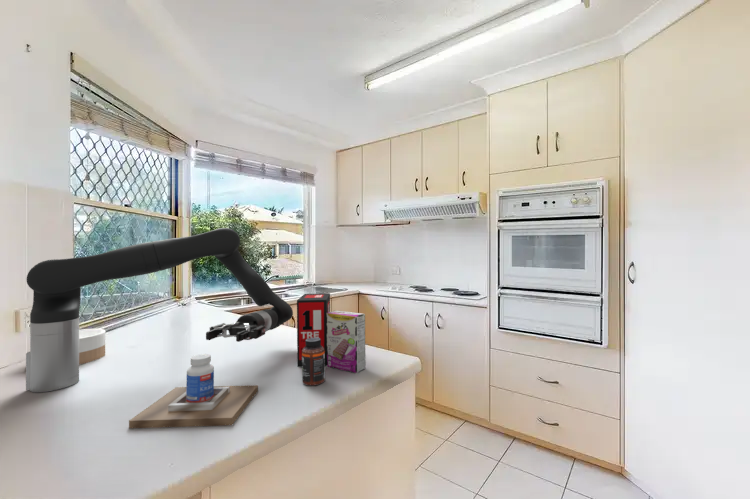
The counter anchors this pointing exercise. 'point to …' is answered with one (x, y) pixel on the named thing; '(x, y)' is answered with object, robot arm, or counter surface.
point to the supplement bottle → (313, 362)
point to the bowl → (91, 345)
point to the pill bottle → (200, 379)
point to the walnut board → (196, 408)
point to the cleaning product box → (312, 321)
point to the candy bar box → (346, 341)
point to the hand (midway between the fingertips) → (222, 337)
